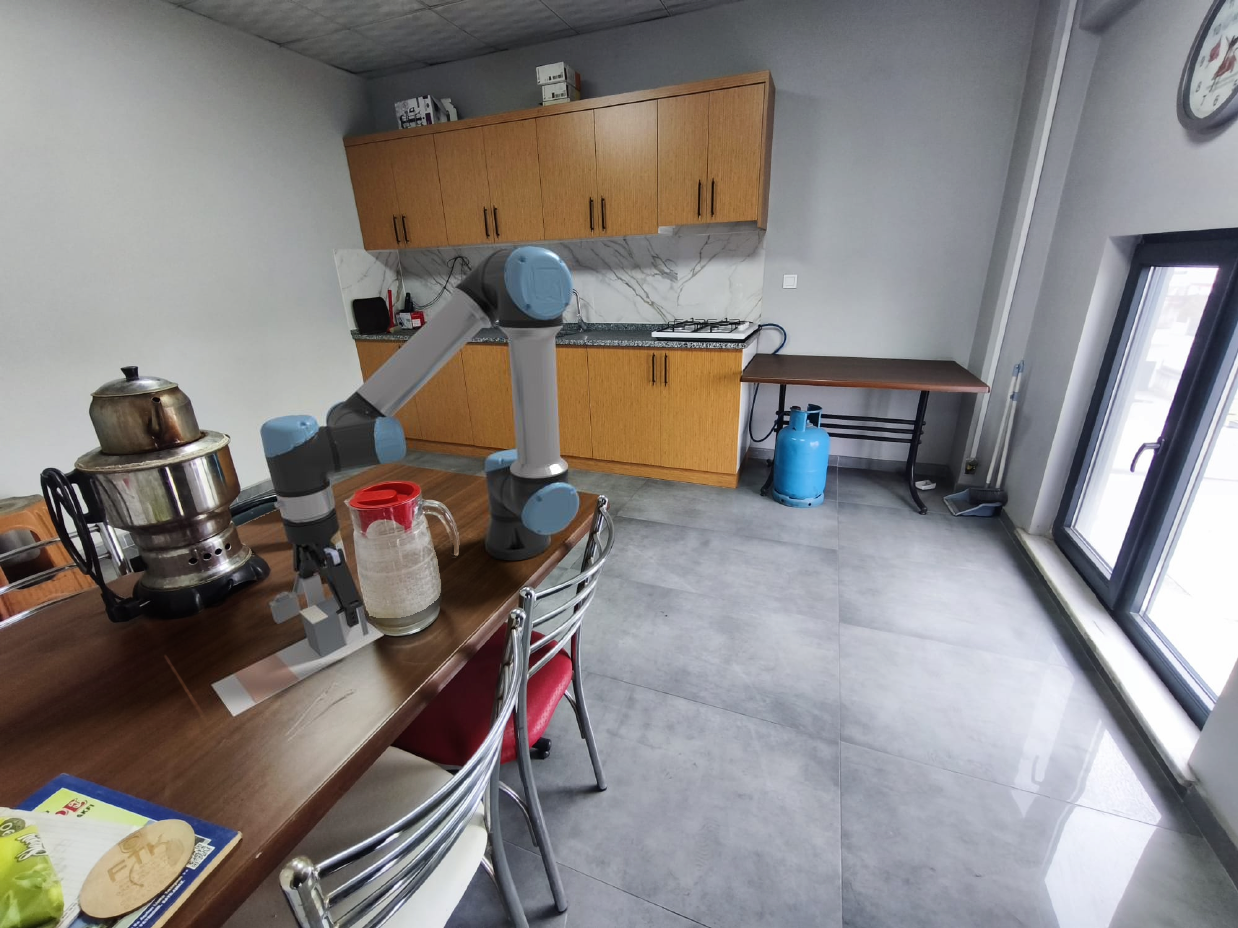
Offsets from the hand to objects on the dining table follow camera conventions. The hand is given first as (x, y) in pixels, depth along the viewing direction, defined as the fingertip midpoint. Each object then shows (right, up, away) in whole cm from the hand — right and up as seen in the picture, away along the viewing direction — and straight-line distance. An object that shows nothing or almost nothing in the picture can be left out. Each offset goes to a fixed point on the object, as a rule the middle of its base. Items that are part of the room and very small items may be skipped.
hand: (335, 623), depth 90 cm
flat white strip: (-4, -5, -3) cm, 7 cm away
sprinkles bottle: (-11, +3, +21) cm, 24 cm away
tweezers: (+4, -11, -16) cm, 19 cm away
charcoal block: (0, -3, +1) cm, 3 cm away
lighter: (-12, -1, +9) cm, 15 cm away
